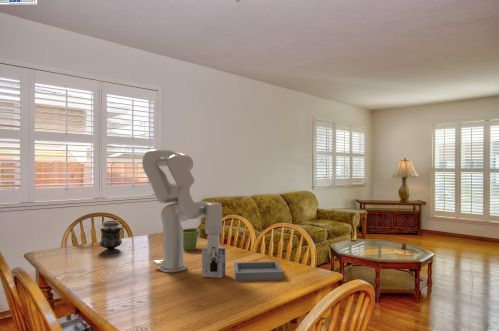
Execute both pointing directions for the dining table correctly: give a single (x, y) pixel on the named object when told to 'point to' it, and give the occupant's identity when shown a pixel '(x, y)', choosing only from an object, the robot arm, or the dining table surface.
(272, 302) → the dining table surface
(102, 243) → the apothecary jar
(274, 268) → the trough
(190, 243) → the plant pot
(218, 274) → the ink cartridge box
